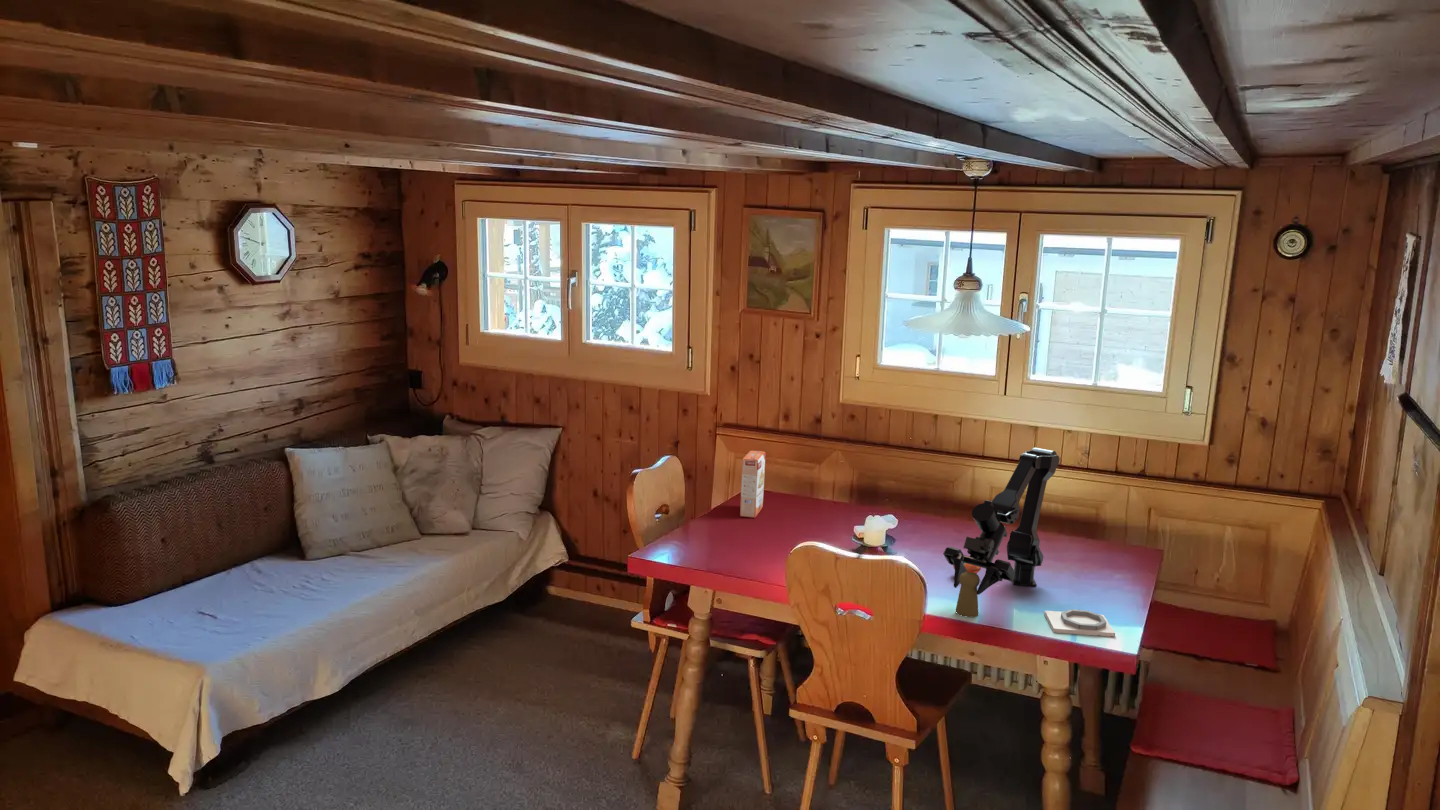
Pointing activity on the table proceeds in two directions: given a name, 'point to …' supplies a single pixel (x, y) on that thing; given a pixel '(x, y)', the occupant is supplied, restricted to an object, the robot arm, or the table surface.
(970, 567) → the pot
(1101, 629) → the socket tray
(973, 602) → the olive brown pawn
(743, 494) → the cracker box
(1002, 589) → the table surface
